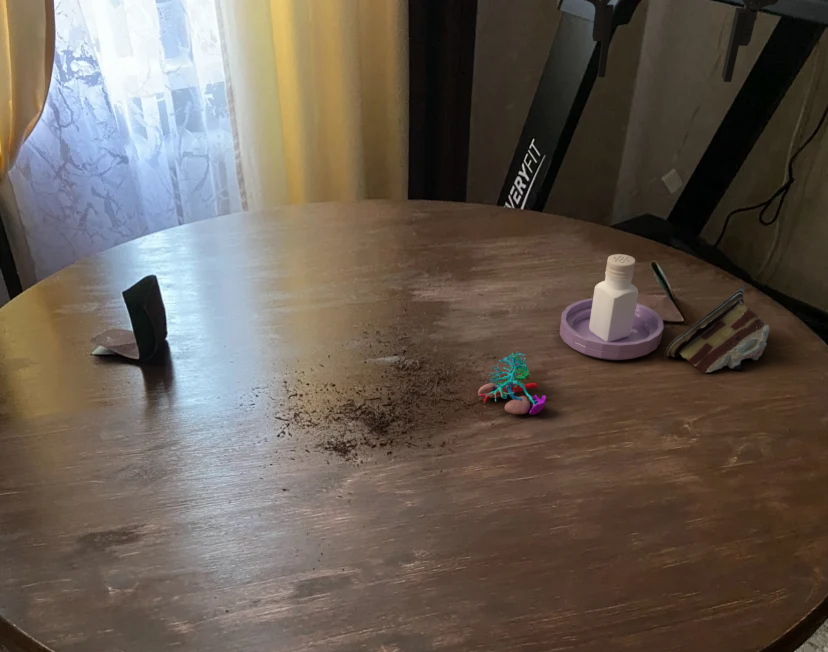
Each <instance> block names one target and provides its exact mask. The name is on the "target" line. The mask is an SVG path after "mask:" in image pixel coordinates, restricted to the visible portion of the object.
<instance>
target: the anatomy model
mask: <svg viewBox="0 0 828 652" xmlns="http://www.w3.org/2000/svg"><path fill="white" fill-rule="evenodd" d="M518 352H519V351H518V350H517V351H516V353H514V352H513V351H512V352H511V353H509V355H508V356H506V357H505V356H504V357H503V359H501V358H500V359H499V360H498V362H500V363H503V367H502V368H501V369H503V370H507V371H508V372H507V371H501V370H500V367H499V366H500V365H499V363H497V365H496V366H494V370H495V371H494V372H492V373H489V374H488V377H490V378H489V379H488V380H490V382H489V383H486V384H483V385H482V386H480V387H479V389H478V391H477V395H478V396H479V397H481V398H484V399H483V403H484V404H485V403H486V401H487V400H488V399H494V402H495V403H496V402H497V399H500V398H502V399H505V400H506V399H508V397H507V396H508V395H509V397H510V398H511V400H509V401H508V402H506V403H505V405H504V411H505V412H507V413H509V414H513V415H524V414H527V413H528V412H529V414H530V415H531V416H534V415H536V414H538V413H540V412H541V411H542V410H543V409H544V407H545V405H546V401H547V396H546V395H545V394H544V395H541V396H542V397H541V398H540V397H538V395H537V394H534V396H533V395H530V394H529V392H528V391H527V390H530V389H538V384H537V383H536V382H529V383H526V384H525V383H523V382H522V381H523V380H527V378H529V377H530V376H532V375H531V373H530V370H529V368H528V366H527V364H526V360H528V358H527V357H524V356H526V353H523V352H519V353H518ZM519 356H520V358H519ZM505 365H507V366H508V368H506V366H505ZM502 374H503V375H504V374H505V375H504V376H502V377H501V375H502ZM519 392H524V394H525V395H520V396H516V395H514V394H515V393H519ZM530 402H531V403H532V405H531V404H530ZM530 407H531V408H530Z"/></svg>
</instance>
